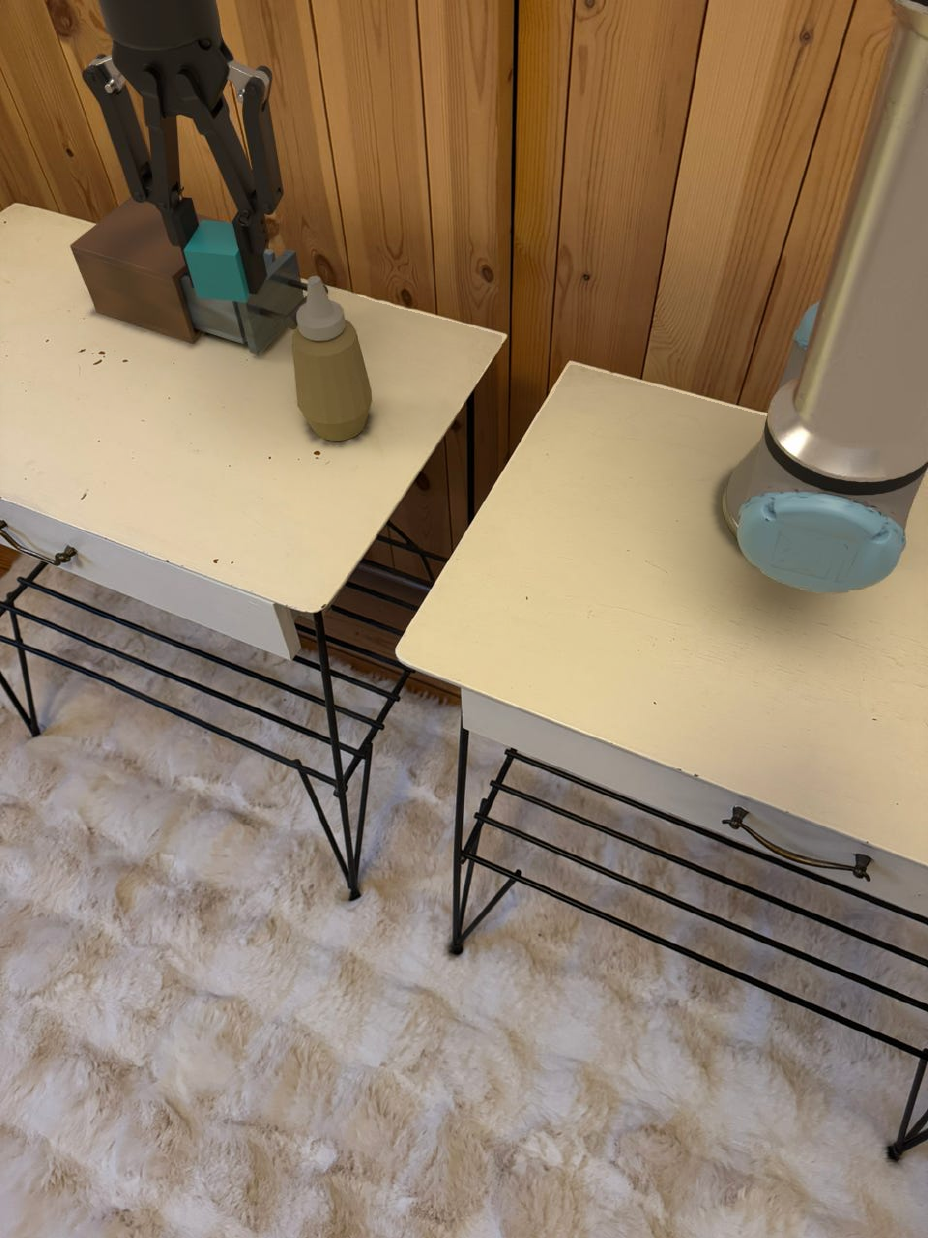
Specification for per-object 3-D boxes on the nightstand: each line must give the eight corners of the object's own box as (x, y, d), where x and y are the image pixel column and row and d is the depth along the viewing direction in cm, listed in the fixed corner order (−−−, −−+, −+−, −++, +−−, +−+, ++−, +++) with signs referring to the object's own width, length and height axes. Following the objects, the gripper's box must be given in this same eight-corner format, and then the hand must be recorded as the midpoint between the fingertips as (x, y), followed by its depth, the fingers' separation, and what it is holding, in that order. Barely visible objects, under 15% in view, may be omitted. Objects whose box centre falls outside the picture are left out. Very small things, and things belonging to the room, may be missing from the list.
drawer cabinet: (248, 290, 115) (231, 222, 108) (193, 344, 109) (172, 276, 102) (154, 261, 119) (132, 194, 112) (96, 312, 113) (69, 245, 106)
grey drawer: (341, 315, 110) (332, 261, 104) (295, 367, 105) (283, 313, 99) (214, 277, 115) (199, 223, 109) (164, 325, 110) (145, 270, 104)
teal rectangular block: (263, 271, 79) (253, 224, 76) (246, 302, 77) (235, 255, 73) (215, 266, 80) (202, 219, 76) (197, 297, 77) (183, 249, 74)
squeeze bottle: (381, 400, 103) (363, 255, 88) (369, 451, 98) (349, 307, 83) (310, 397, 103) (281, 252, 88) (295, 447, 99) (262, 304, 84)
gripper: (294, -54, 60) (340, 265, 79) (48, -68, 62) (150, 246, 81) (258, -6, 56) (315, 319, 75) (-5, -23, 58) (116, 297, 77)
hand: (229, 280), depth 78 cm, fingers closed on teal rectangular block, 4 cm apart
